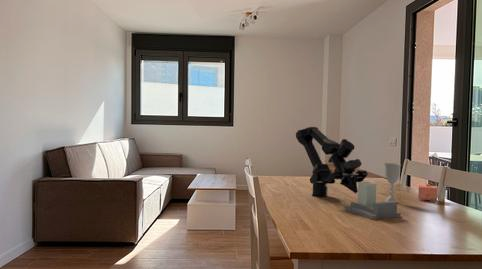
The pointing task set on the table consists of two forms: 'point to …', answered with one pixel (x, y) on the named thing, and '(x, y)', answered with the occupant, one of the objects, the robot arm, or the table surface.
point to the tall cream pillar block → (366, 194)
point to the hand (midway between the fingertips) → (356, 192)
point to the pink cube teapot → (427, 192)
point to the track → (375, 210)
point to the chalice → (392, 177)
